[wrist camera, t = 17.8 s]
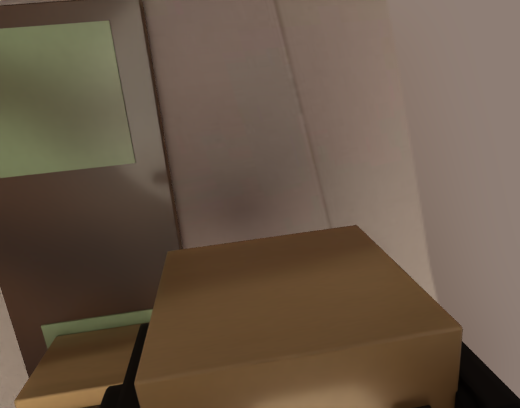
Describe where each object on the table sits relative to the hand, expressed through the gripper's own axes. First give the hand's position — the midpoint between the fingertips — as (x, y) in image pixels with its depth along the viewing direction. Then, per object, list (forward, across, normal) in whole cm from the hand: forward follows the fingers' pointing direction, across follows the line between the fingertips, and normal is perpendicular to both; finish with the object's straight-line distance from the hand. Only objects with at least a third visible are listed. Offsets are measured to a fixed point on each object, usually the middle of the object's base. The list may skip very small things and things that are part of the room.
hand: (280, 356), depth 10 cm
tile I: (+1, 0, 0) cm, 1 cm away
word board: (+12, +8, 0) cm, 14 cm away
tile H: (+10, +8, +7) cm, 15 cm away
